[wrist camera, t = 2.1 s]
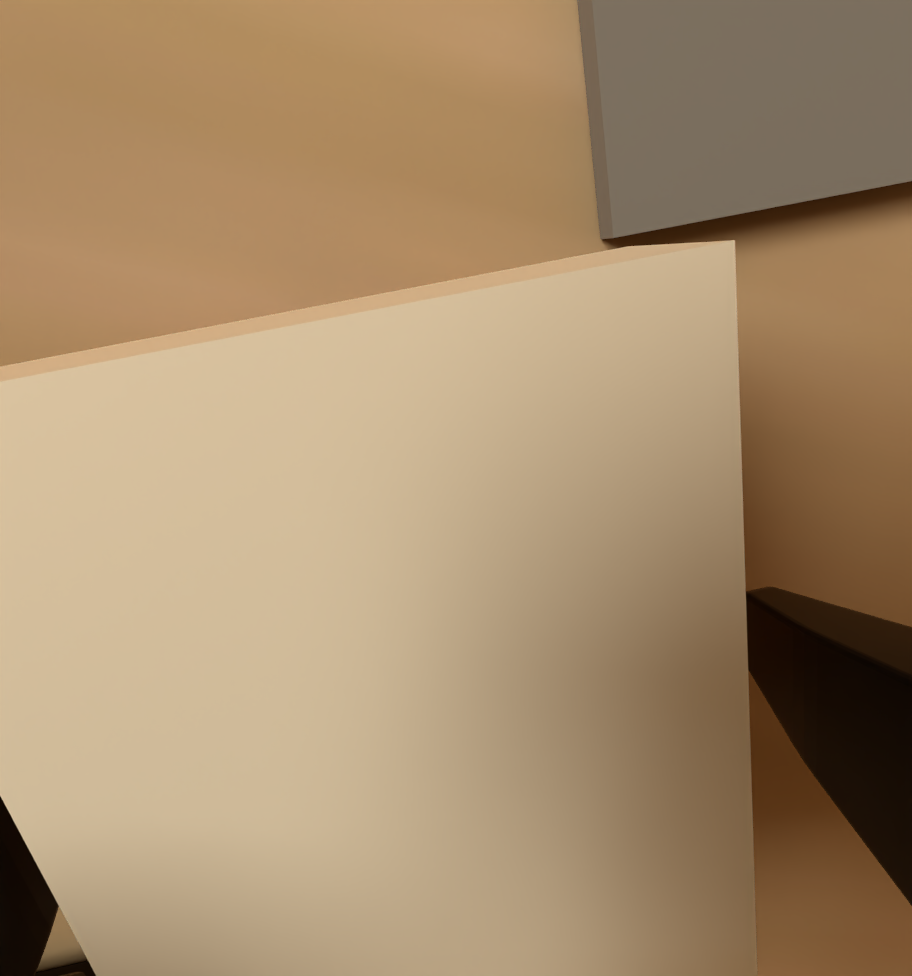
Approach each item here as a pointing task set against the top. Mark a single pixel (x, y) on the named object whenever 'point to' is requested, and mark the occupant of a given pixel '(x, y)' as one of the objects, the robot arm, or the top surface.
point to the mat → (742, 104)
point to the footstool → (391, 632)
